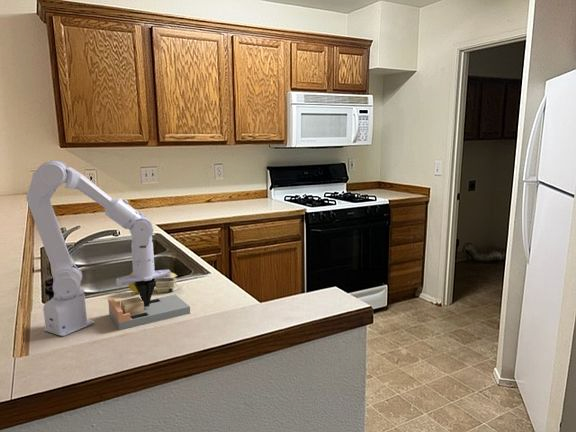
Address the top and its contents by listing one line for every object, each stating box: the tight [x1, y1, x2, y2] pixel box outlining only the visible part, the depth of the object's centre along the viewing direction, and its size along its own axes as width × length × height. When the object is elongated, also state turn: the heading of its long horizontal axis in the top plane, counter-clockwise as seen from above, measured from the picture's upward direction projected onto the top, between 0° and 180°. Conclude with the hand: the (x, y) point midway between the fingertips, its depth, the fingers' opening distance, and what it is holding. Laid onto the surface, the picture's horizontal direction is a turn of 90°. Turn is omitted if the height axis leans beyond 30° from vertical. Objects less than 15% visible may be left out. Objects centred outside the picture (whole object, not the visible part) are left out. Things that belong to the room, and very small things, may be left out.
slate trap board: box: [108, 294, 191, 331], centre depth 121 cm, size 20×12×2 cm, turn 124°
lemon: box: [127, 271, 139, 294], centre depth 137 cm, size 6×6×8 cm
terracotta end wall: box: [107, 297, 131, 323], centre depth 116 cm, size 3×12×3 cm, turn 34°
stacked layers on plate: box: [155, 272, 179, 294], centre depth 140 cm, size 10×9×6 cm
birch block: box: [120, 296, 144, 315], centre depth 118 cm, size 5×5×3 cm
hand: (146, 305), depth 120 cm, fingers closed
